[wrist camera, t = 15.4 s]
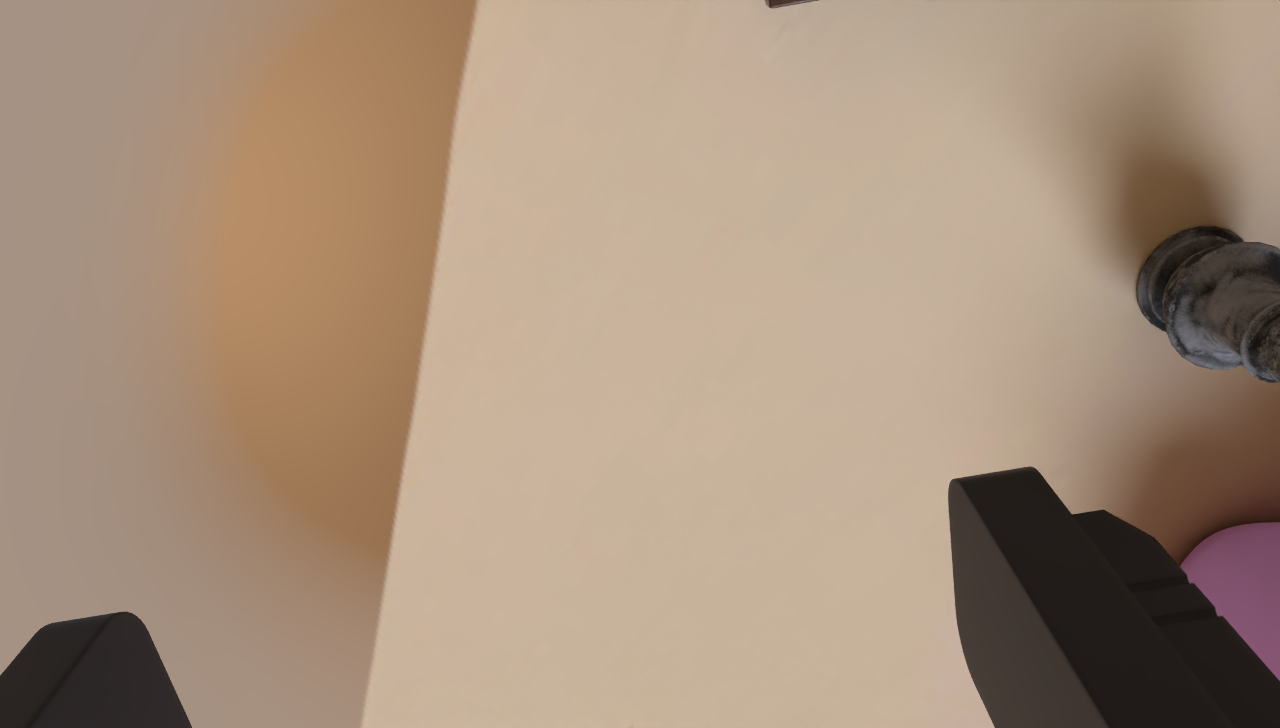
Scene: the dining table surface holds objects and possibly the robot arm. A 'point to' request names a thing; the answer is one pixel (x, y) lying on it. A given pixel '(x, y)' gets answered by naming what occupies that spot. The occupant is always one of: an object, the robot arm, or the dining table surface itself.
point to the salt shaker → (1216, 300)
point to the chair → (784, 2)
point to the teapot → (1243, 583)
